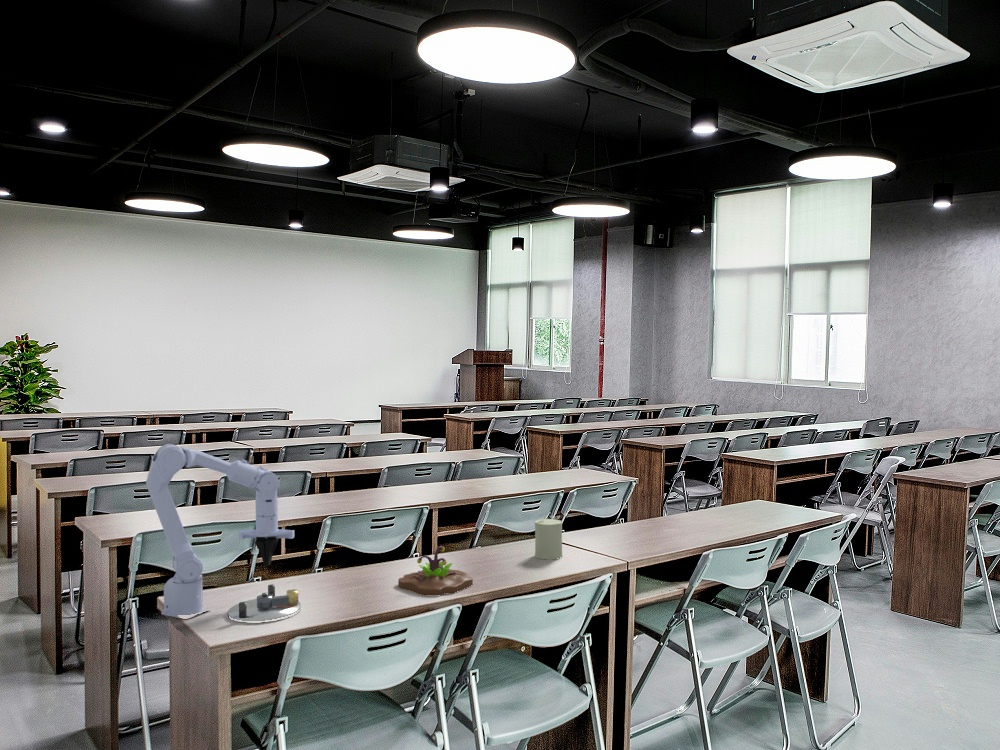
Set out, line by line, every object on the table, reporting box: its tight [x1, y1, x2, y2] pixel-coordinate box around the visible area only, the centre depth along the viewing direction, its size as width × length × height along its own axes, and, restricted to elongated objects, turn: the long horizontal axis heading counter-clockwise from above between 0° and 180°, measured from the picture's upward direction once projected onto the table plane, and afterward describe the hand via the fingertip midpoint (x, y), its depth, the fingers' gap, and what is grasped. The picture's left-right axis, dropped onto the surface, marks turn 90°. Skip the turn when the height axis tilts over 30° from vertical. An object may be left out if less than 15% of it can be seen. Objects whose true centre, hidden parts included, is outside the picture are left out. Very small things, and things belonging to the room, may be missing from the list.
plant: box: [397, 545, 474, 596], centre depth 220 cm, size 20×20×11 cm
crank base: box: [227, 584, 302, 621], centre depth 197 cm, size 18×18×5 cm
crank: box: [256, 588, 300, 609], centre depth 198 cm, size 10×4×3 cm, turn 111°
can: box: [534, 518, 564, 561], centre depth 251 cm, size 9×9×12 cm
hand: (267, 564), depth 206 cm, fingers closed
